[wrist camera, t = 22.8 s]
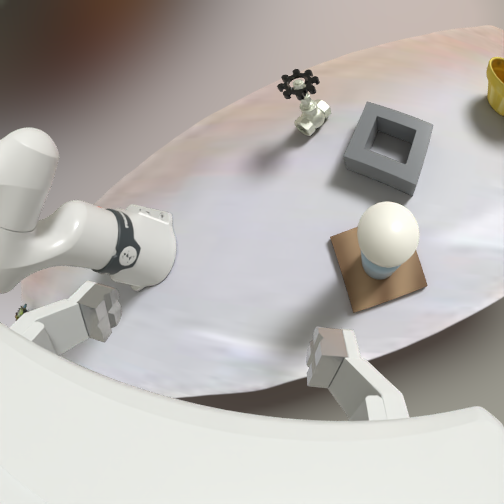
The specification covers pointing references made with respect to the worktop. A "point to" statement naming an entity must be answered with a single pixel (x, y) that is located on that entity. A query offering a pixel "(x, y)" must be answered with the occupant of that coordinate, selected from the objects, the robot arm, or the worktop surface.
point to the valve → (305, 101)
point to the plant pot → (496, 84)
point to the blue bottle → (386, 238)
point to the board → (369, 289)
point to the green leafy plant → (21, 312)
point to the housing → (382, 166)
